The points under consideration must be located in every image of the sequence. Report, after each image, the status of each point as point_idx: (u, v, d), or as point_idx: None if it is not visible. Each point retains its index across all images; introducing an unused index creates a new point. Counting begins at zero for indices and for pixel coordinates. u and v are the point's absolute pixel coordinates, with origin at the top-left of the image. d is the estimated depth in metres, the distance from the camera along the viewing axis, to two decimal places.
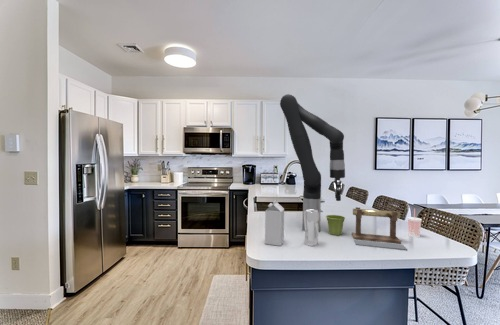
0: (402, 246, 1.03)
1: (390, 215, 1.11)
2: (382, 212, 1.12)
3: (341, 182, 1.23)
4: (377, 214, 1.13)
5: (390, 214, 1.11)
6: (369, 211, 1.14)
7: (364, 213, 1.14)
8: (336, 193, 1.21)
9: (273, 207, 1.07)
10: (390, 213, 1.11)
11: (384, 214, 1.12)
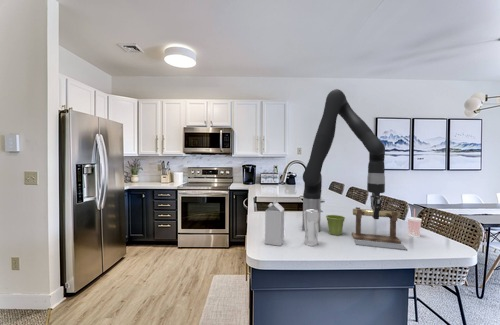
0: (402, 246, 1.03)
1: (390, 215, 1.11)
2: (382, 212, 1.12)
3: (380, 198, 1.12)
4: None
5: (390, 214, 1.11)
6: (369, 211, 1.14)
7: (364, 213, 1.14)
8: (374, 211, 1.13)
9: (273, 207, 1.07)
10: (390, 213, 1.11)
11: (384, 214, 1.12)
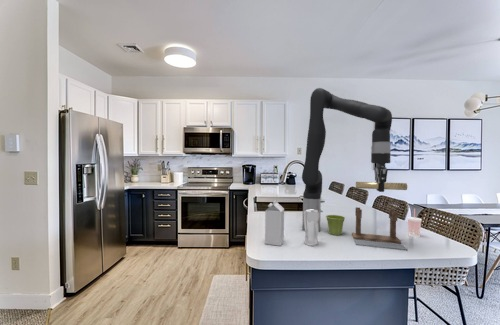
0: (402, 246, 1.03)
1: (396, 187, 1.03)
2: (388, 184, 1.04)
3: (386, 169, 1.03)
4: None
5: (396, 186, 1.03)
6: (374, 183, 1.06)
7: (368, 186, 1.06)
8: (379, 183, 1.05)
9: (273, 207, 1.07)
10: (396, 185, 1.03)
11: (390, 186, 1.03)
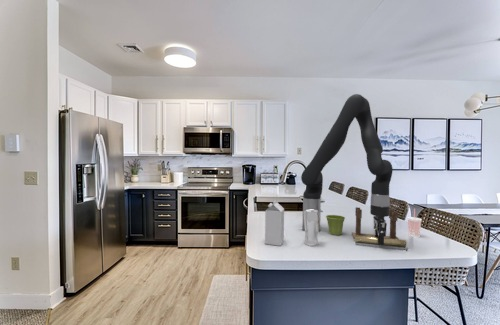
0: None
1: (395, 244, 1.03)
2: (387, 240, 1.04)
3: (385, 221, 1.03)
4: None
5: (395, 243, 1.02)
6: (373, 239, 1.05)
7: (367, 241, 1.06)
8: (378, 235, 1.03)
9: (273, 207, 1.07)
10: (395, 242, 1.03)
11: (389, 243, 1.03)
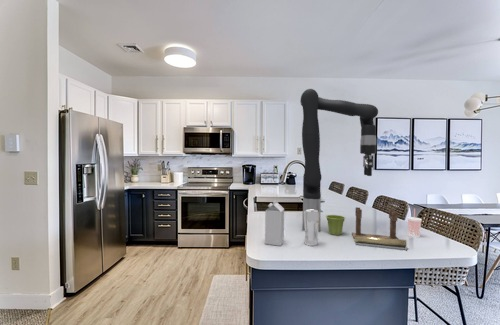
0: None
1: (395, 244, 1.02)
2: (387, 240, 1.04)
3: None
4: (381, 242, 1.04)
5: (395, 243, 1.02)
6: (373, 239, 1.05)
7: (367, 241, 1.06)
8: (367, 168, 1.21)
9: (273, 207, 1.07)
10: (395, 242, 1.02)
11: (389, 243, 1.03)
